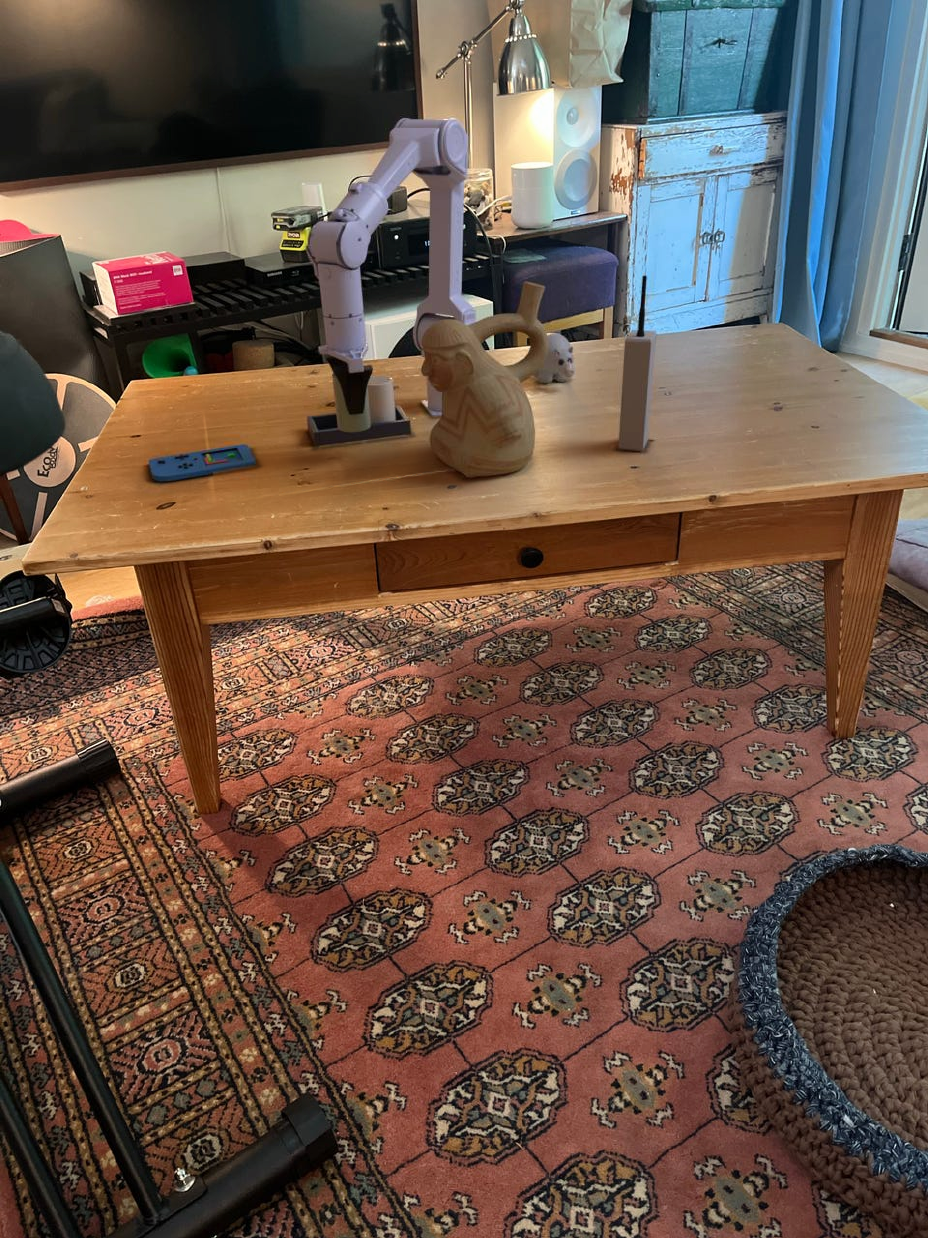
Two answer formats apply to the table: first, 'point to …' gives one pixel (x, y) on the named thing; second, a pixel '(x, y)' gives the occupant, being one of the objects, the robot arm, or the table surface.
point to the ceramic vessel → (484, 390)
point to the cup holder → (328, 432)
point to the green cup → (343, 418)
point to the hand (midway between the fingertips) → (352, 407)
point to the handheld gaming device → (201, 463)
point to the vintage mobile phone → (637, 383)
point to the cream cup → (381, 399)
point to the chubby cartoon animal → (557, 360)
